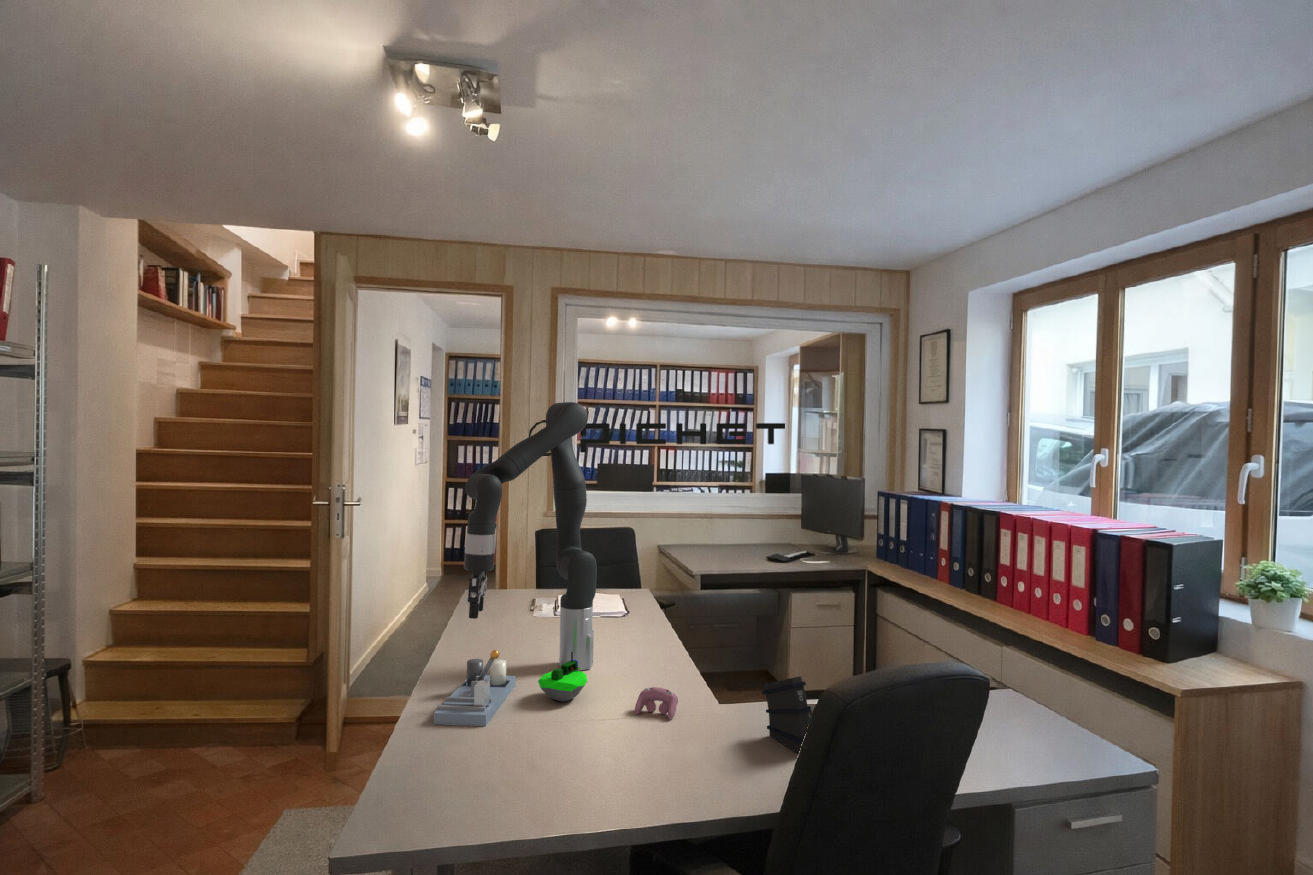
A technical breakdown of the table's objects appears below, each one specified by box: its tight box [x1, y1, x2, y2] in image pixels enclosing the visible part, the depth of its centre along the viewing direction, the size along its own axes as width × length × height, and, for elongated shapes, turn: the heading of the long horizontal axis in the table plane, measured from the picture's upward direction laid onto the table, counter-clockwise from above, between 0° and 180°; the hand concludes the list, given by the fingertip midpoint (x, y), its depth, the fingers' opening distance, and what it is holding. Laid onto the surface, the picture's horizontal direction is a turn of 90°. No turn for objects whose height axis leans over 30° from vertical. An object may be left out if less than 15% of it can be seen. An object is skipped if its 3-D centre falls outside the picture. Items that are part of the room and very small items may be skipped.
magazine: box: [761, 676, 812, 754], centre depth 153 cm, size 4×13×15 cm, turn 28°
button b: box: [466, 658, 484, 684], centre depth 180 cm, size 4×4×5 cm
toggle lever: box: [476, 649, 500, 681], centre depth 173 cm, size 2×2×10 cm
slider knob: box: [474, 680, 490, 707], centre depth 165 cm, size 2×4×5 cm, turn 177°
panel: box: [433, 674, 517, 727], centre depth 173 cm, size 12×26×6 cm, turn 177°
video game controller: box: [634, 686, 679, 721], centre depth 169 cm, size 10×5×7 cm, turn 71°
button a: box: [489, 659, 507, 685], centre depth 180 cm, size 4×4×5 cm
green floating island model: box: [537, 652, 588, 703], centre depth 177 cm, size 12×12×11 cm
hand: (476, 614), depth 182 cm, fingers open, 8 cm apart
